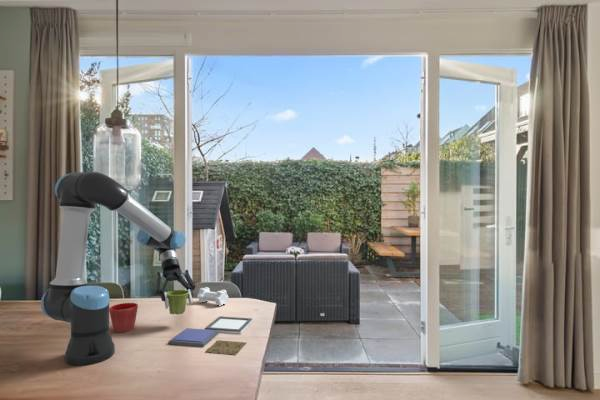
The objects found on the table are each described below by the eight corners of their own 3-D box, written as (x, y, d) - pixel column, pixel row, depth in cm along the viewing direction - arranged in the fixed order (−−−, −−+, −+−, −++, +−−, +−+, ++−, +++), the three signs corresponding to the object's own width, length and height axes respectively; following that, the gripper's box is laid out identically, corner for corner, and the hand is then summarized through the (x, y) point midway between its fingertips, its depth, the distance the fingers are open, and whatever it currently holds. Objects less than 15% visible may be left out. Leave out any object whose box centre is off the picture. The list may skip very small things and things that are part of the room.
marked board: (240, 334, 151) (240, 330, 151) (203, 331, 154) (203, 328, 154) (253, 321, 167) (253, 318, 167) (219, 318, 170) (219, 316, 170)
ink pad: (203, 346, 138) (203, 342, 138) (168, 344, 141) (168, 340, 141) (218, 333, 152) (218, 329, 152) (186, 331, 155) (186, 327, 155)
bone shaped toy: (228, 305, 194) (229, 289, 195) (217, 307, 187) (218, 291, 187) (207, 301, 202) (208, 286, 202) (195, 303, 194) (196, 287, 195)
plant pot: (192, 312, 161) (193, 292, 161) (172, 317, 154) (172, 296, 154) (181, 308, 168) (182, 289, 168) (161, 312, 161) (161, 292, 161)
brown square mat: (247, 343, 143) (247, 341, 143) (235, 356, 131) (235, 353, 131) (217, 341, 145) (217, 338, 145) (203, 354, 133) (203, 351, 133)
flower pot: (105, 329, 157) (105, 306, 156) (131, 323, 165) (131, 301, 164) (115, 336, 149) (115, 311, 149) (142, 328, 157) (142, 305, 157)
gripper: (191, 265, 180) (202, 306, 167) (143, 269, 168) (150, 314, 154) (195, 255, 176) (207, 296, 162) (145, 259, 163) (153, 304, 150)
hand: (179, 305), depth 158 cm, fingers closed on plant pot, 9 cm apart
